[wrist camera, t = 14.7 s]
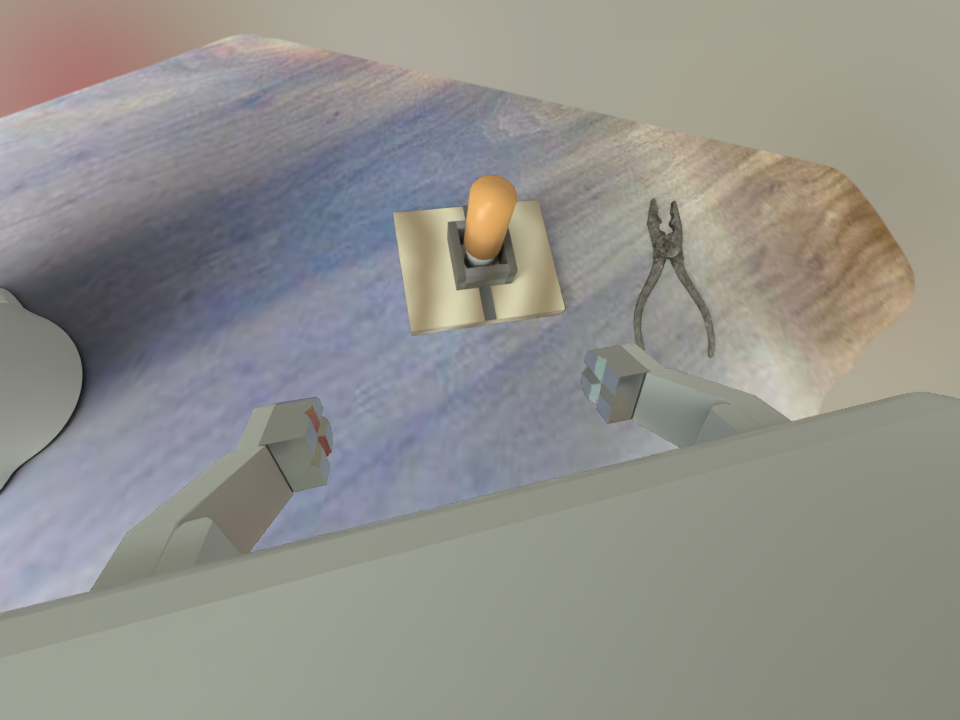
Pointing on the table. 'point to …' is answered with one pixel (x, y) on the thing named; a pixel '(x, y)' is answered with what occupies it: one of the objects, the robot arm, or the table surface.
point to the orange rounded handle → (487, 219)
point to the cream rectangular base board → (475, 271)
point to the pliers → (672, 250)
